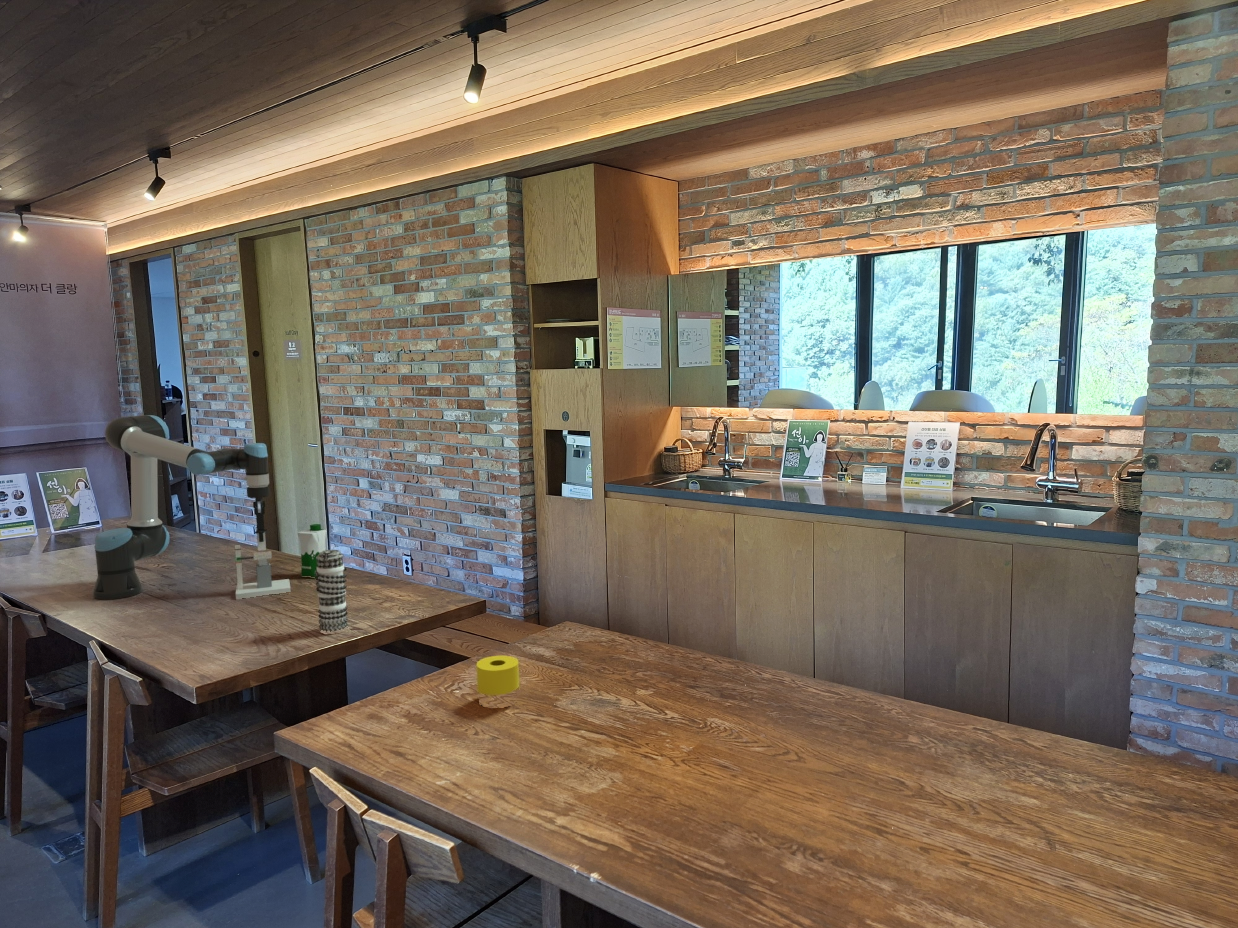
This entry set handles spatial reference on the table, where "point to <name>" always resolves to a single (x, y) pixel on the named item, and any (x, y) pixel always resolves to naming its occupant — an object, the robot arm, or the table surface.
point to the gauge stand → (258, 581)
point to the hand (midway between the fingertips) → (261, 549)
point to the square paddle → (260, 557)
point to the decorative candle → (331, 590)
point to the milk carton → (311, 548)
